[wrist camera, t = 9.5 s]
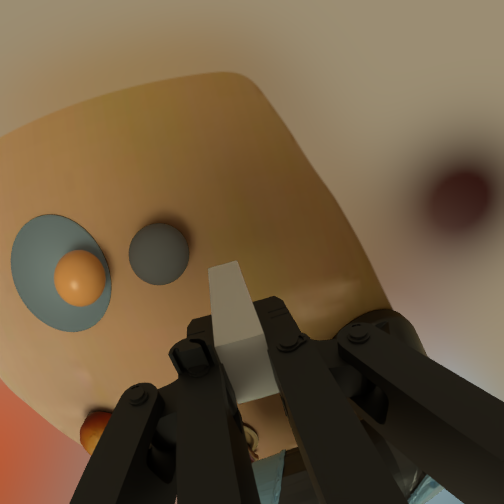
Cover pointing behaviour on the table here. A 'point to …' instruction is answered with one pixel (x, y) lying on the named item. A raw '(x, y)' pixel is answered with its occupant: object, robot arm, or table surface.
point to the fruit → (93, 429)
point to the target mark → (42, 271)
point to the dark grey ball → (158, 254)
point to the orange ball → (79, 278)
